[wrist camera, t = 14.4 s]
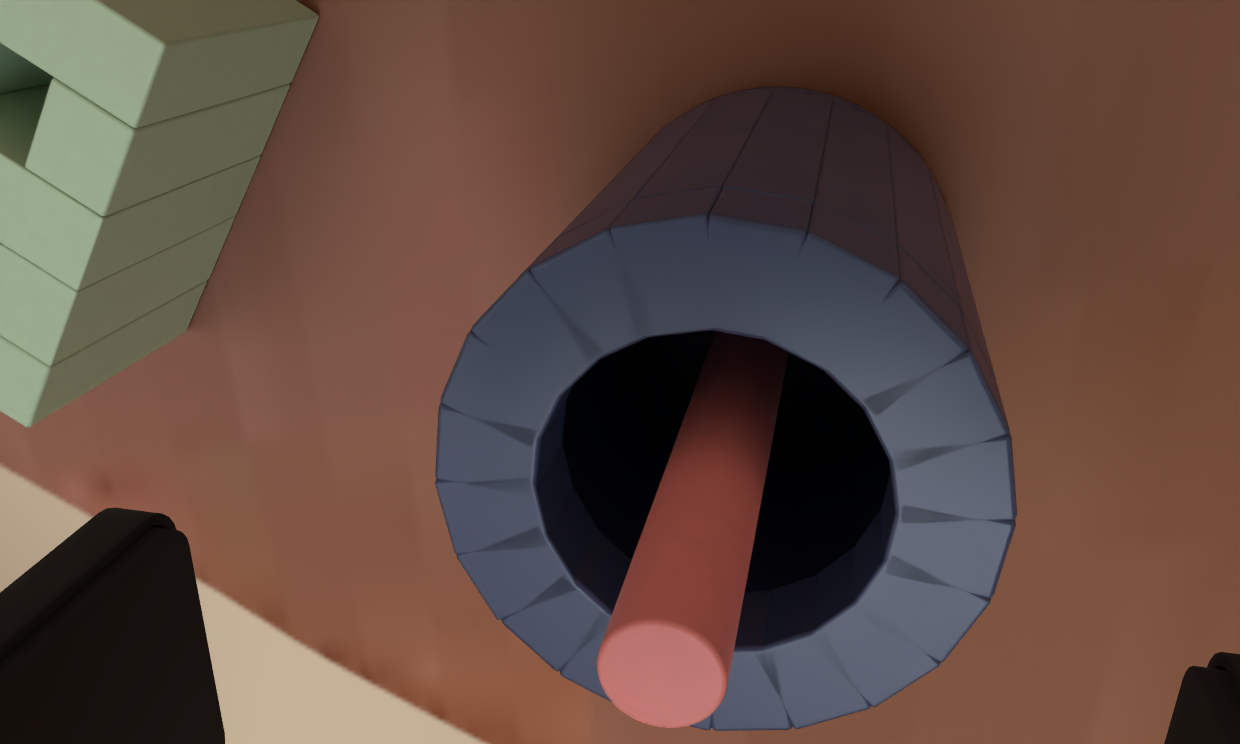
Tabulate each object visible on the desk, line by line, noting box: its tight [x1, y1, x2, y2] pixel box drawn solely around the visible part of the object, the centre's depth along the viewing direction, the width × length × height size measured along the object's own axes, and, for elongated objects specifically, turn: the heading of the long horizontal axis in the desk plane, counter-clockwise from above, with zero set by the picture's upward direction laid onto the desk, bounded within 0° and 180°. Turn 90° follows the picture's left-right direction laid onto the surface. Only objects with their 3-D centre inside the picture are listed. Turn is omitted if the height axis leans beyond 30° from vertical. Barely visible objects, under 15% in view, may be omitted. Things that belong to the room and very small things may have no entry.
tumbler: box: [435, 87, 1017, 731], centre depth 19 cm, size 8×8×11 cm
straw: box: [597, 331, 788, 728], centre depth 18 cm, size 1×1×14 cm
